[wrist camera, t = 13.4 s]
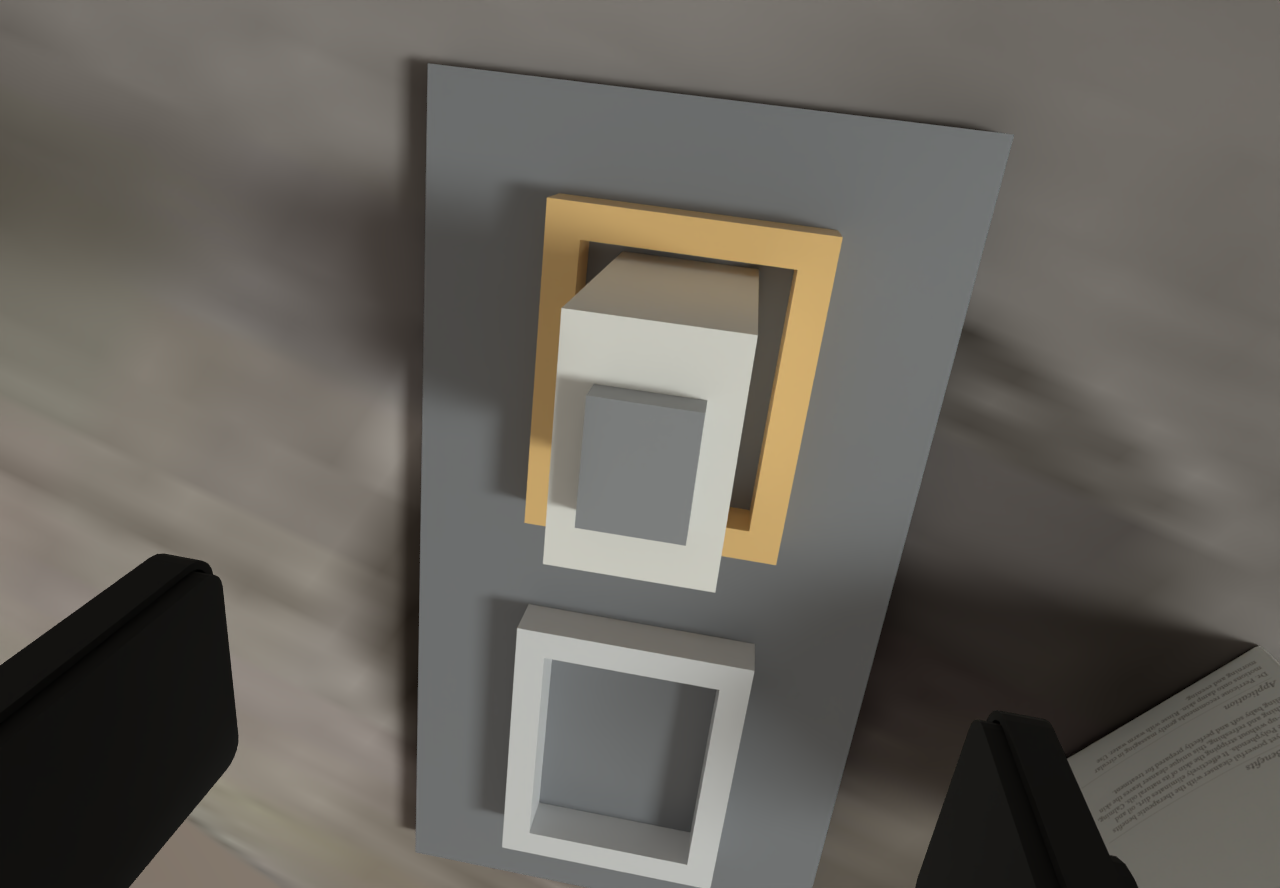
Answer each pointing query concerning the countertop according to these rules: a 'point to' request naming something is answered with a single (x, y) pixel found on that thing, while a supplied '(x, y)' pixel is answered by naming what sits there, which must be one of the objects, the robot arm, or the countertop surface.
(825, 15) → the countertop surface
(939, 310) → the socket panel
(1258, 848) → the skincare box
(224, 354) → the countertop surface
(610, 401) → the plug
